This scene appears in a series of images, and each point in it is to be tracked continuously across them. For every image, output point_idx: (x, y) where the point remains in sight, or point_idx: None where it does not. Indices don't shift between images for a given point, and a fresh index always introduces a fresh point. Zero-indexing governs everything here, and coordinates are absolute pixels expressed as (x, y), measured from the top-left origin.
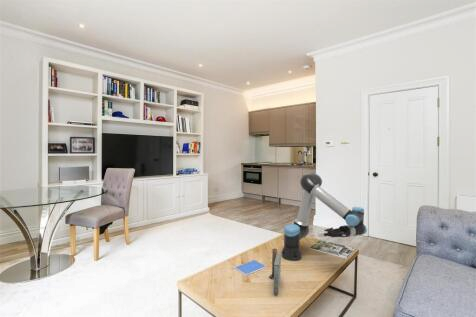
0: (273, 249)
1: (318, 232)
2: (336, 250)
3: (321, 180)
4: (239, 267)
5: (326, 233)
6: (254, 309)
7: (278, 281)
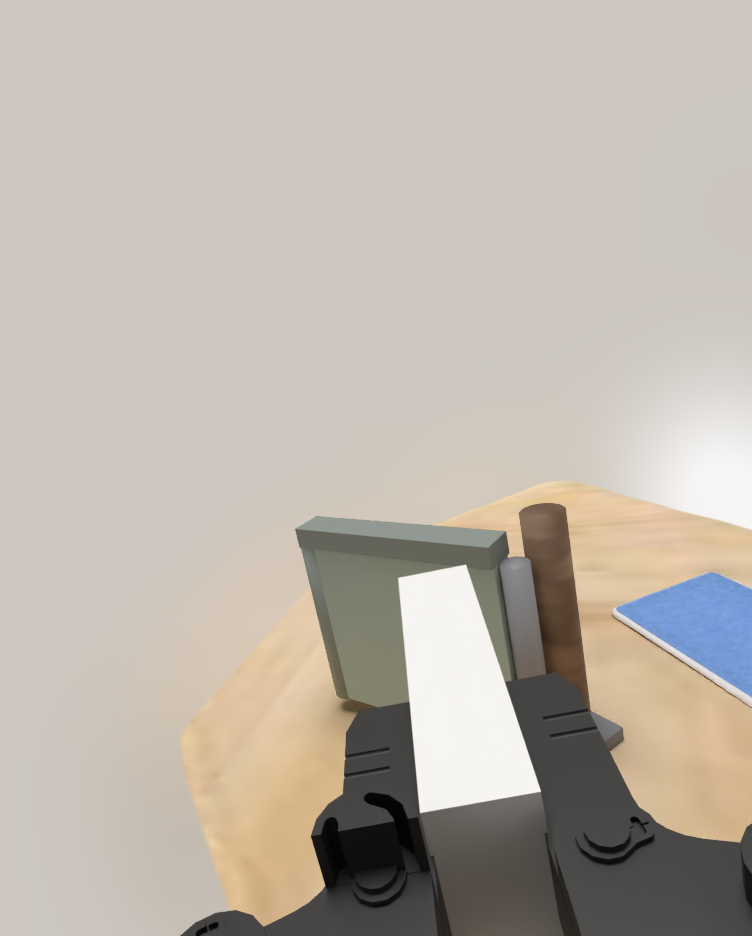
0: (543, 506)
1: (457, 568)
2: None
3: None
4: (713, 586)
5: (391, 775)
6: (294, 623)
7: (374, 667)
